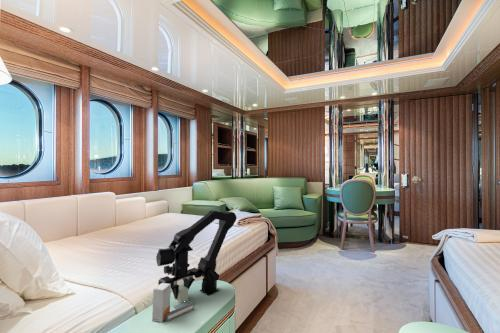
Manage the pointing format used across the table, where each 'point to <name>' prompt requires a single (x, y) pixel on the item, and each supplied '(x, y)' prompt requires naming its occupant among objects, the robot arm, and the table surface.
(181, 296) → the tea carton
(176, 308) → the facing pad
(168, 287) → the skincare box
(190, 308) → the rail
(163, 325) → the table surface
